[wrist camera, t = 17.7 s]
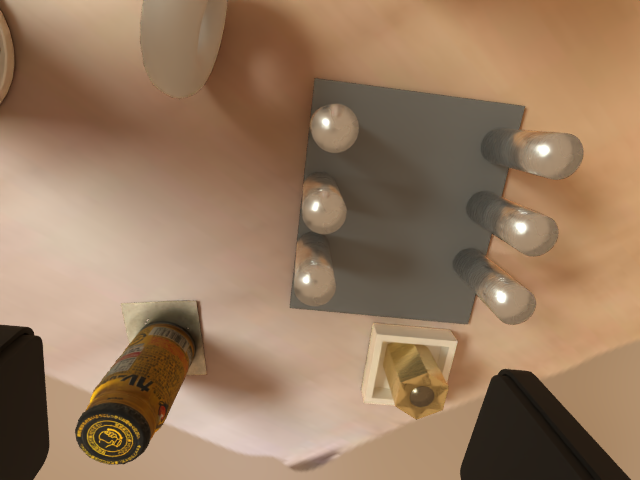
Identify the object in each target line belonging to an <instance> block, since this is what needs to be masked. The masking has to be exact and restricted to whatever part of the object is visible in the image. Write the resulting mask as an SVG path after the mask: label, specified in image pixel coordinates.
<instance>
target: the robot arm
mask: <svg viewBox="0 0 640 480" xmlns="http://www.w3.org/2000/svg"><path fill="white" fill-rule="evenodd" d="M13 71H14V47H13V43H12V39H11V34H10V30H9V28H8V26H7V23H6V21H5V18H4V16H3V14H2V12H1V10H0V103H1V102H2V100H3V99H4V97H5V96H6V94H7V93H8V90H9V87H10V85H11V82H12V79H13ZM48 451H49V431H48V417H47V401H46V387H45V372H44V357H43V343H42V339H41V338H40V337H39V336H34V332H33V330H32V329H31V328H29V327H20V326H9V325H0V480H33V479H34V478H35V476H36V475H37V473H38V472H39V470H40V469H41V467H42V466H43V464H44V462H45V460H46V457H47V454H48ZM460 475H461V480H631V479H630V478H629V477H628V476H627V475H626V474H625V473H624V472H623V471H622V469H621V468H620V467H619V466H618V465H617V464H616V463H615V462H614V461H613V460H612V459H611V457H610V456H609V455H608V454H607V453H606V452H605V451H604V450H603V449H602V448H601V447H600V446H599V444H598V443H597V442H596V441H595V440H594V439H593V438H592V437H591V436H590V435H589V434H588V432H587V431H586V430H585V429H584V428H583V427H582V426H581V425H580V424H579V423H578V422H577V420H576V419H575V418H574V417H573V416H572V415H571V414H570V413H569V412H568V411H567V410H566V409H565V407H563V405H562V404H561V403H560V402H559V401H558V400H557V399H556V398H555V397H554V395H552V393H551V392H550V391H549V390H548V389H547V388H546V387H545V386H544V385H543V383H542V382H541V381H540V380H539V379H538V378H537V377H536V376H535V375H534V374H533V373H532V372H529V371H522V370H510V369H503V370H501V371H500V372H499V373H498V375H495V376H493V377H492V379H491V381H490V384H489V387H488V390H487V393H486V396H485V398H484V401H483V404H482V407H481V410H480V413H479V416H478V419H477V422H476V424H475V427H474V430H473V433H472V436H471V439H470V442H469V445H468V448H467V451H466V453H465V457H464V459H463V462H462V465H461V470H460Z"/></svg>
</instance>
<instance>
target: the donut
mask: <svg viewBox="0 0 640 480" xmlns="http://www.w3.org/2000/svg"><path fill="white" fill-rule="evenodd" d="M227 2H228V0H143V4H142V12H141V21H140V44H141V51H142V57H143V64H144V67H145V69H146V72H147V74H148V76H149V78H150V80H151V82H152V84H153V85H154V86H155V87H156V88H157V89H159V90H160V91H161V92H163V93H164V94H166V95H168V96H170V97H172V98H178V99H181V98H187V97H189V96H192V95H194V94H195V93H197V92H198V91H199V90H200V89H201V88H202V87H203V85H204V84H205V83H206V81H207V80H208V78H209V76H210V74H211V71H212V69H213V66H214V64H215V61H216V58H217V55H218V51H219V48H220V44H221V40H222V35H223V31H224V26H225V19H226V12H227Z"/></svg>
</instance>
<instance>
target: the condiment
mask: <svg viewBox="0 0 640 480" xmlns="http://www.w3.org/2000/svg"><path fill="white" fill-rule="evenodd" d="M121 307H122V313H123V317H124V323H125V326H126V333H127V337H128V340H129V345H128V347H127V348H126V349H125V351H124V352H123V354H122V355H121V356H120V357H119V358H118V359H117V360H116V363H115V364H114V365H113V366H112V367H111V369H110V371H109V372H108V373H107V374H106V375H105V376H104V378H103V379H102V381H101V382H100V384H99V385H98V386H97V387H96V388H95V390H94V391H93V394H92V396H91V399H90V404H89V405H88V407H87V409H86V411H85V412H84V413H83V414H82V416H81V417H80V418H79V420H78V424H77V427H76V429H75V433H76V440H77V442H78V444H79V447H80V448H81V449H82V450H83V451H84V452H85V453H86V455H88V456H89V457H90V458H92V459H94V460H96V461H99V462H102V463H106V464H125V463H127V462H130V461H133V460H134V459H136V458H137V457H138V456H139V455H141V454H142V453H143V452H144V451H145V449H146V448H147V446H148V444H149V442H150V440H151V438H152V437H153V435H154V433H155V432H156V431H158V430H159V428H160V427H161V426H162V425H163V423H164V421H165V419H166V417H167V415H168V413H169V411H170V408H171V406H172V404H173V402H174V400H175V398H176V396H177V394H178V391H179V389H180V387H181V385H182V383H183V381H184V379H185V376H186V375H207V372H206V364H205V357H204V349H203V342H202V336H201V331H200V323H199V316H198V311H197V303H196V301H163V302H145V303H123V304H121ZM147 319H149V320H148V321H146V320H147ZM144 323H147V324H144ZM187 328H189V329H187Z"/></svg>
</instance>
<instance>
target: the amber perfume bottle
mask: <svg viewBox="0 0 640 480" xmlns="http://www.w3.org/2000/svg"><path fill="white" fill-rule="evenodd" d="M383 367H384V371H385V374H386V377H387V381H388V384H389V387H390V390H391V394H392V397H393V400H394V403H395V406H396V407H397V408H399V409H400V410H402V411H404V412H405V413H407V414H408V415H410V416H411V417H413V418H415V419H416V420H417V419H419V418H422V417H425V416H428V415H430V414H433V413H436V412H439V411H442V410H443V407H444V403H445V399H446V396H447V392H448V388H449V386H448V384H447V382H446V380H445V379H444V377H443V375H442V373H441V371H440V369H439V367H438V365H437V363H436V361H435V359H434V357H433V356H432V354H431V352H430V350H429V348H428V347H426V346H425V345H419V344H408V343H397V342H392V343H390V344H387V347H386V352H385V357H384V362H383Z"/></svg>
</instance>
